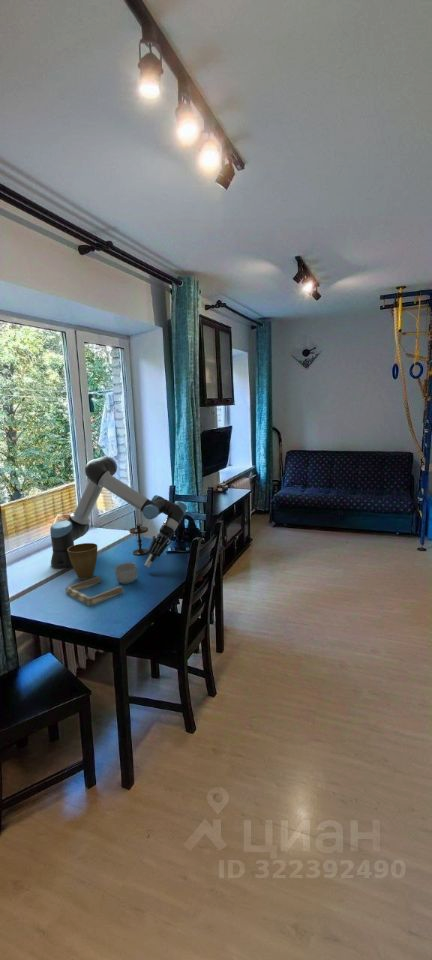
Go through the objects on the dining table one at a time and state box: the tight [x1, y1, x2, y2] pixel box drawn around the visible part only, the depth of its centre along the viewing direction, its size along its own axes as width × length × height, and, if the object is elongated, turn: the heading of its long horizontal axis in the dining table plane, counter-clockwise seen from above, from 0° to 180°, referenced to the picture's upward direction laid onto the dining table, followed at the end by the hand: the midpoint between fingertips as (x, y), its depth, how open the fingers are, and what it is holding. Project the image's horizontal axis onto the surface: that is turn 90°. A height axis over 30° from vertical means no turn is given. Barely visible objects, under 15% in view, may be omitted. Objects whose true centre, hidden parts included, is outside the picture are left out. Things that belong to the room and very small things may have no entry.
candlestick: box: [128, 507, 149, 556], centre depth 263 cm, size 11×11×35 cm
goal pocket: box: [65, 575, 124, 607], centre depth 213 cm, size 21×18×3 cm
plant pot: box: [67, 542, 98, 580], centre depth 233 cm, size 15×15×16 cm
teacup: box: [114, 561, 138, 585], centre depth 226 cm, size 14×11×8 cm
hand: (146, 566), depth 235 cm, fingers closed
